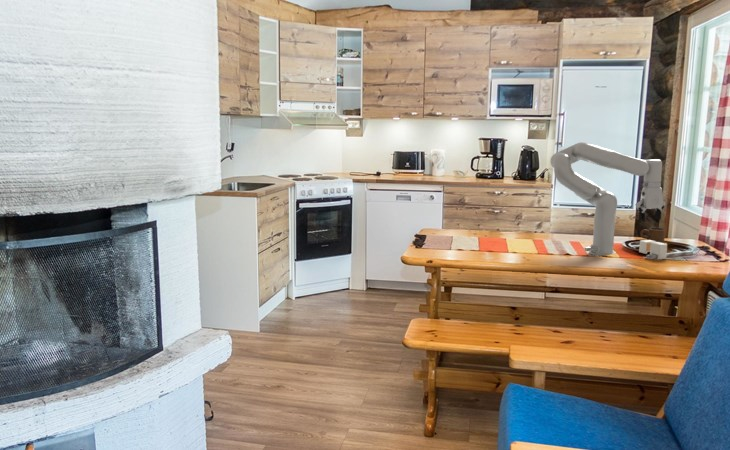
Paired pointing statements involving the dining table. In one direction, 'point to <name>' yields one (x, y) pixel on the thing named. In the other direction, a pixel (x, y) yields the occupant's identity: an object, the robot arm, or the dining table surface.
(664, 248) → the white block
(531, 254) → the dining table surface
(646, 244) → the white and orange block
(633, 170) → the robot arm
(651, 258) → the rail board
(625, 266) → the dining table surface
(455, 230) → the dining table surface
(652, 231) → the mug
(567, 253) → the dining table surface
